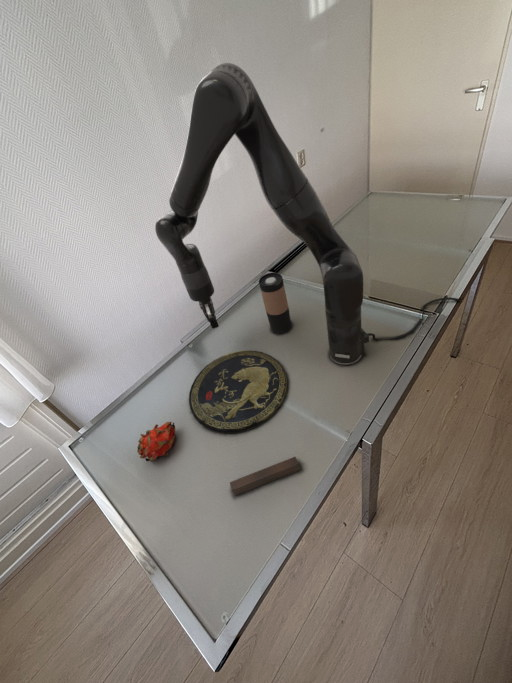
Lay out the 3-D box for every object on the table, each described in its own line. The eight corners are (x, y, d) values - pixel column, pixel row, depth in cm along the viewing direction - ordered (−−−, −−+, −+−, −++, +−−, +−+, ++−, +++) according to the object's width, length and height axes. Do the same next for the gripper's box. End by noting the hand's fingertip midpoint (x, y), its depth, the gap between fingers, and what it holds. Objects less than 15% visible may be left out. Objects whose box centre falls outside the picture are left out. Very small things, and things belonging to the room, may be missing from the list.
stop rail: (297, 462, 75) (295, 456, 73) (300, 470, 74) (298, 464, 72) (233, 487, 74) (229, 482, 72) (235, 495, 73) (231, 490, 71)
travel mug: (271, 321, 116) (259, 273, 102) (292, 319, 114) (283, 270, 100) (269, 335, 110) (256, 287, 97) (291, 333, 108) (281, 284, 95)
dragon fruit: (145, 469, 85) (179, 437, 92) (154, 471, 78) (191, 437, 85) (125, 444, 84) (162, 414, 91) (133, 444, 77) (171, 412, 84)
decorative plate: (173, 427, 88) (205, 350, 109) (175, 431, 90) (207, 353, 110) (279, 433, 80) (292, 348, 101) (280, 437, 81) (292, 352, 102)
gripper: (213, 287, 87) (230, 334, 98) (206, 266, 96) (222, 311, 108) (187, 297, 86) (207, 343, 97) (182, 275, 96) (201, 319, 107)
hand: (215, 326), depth 103 cm, fingers closed
